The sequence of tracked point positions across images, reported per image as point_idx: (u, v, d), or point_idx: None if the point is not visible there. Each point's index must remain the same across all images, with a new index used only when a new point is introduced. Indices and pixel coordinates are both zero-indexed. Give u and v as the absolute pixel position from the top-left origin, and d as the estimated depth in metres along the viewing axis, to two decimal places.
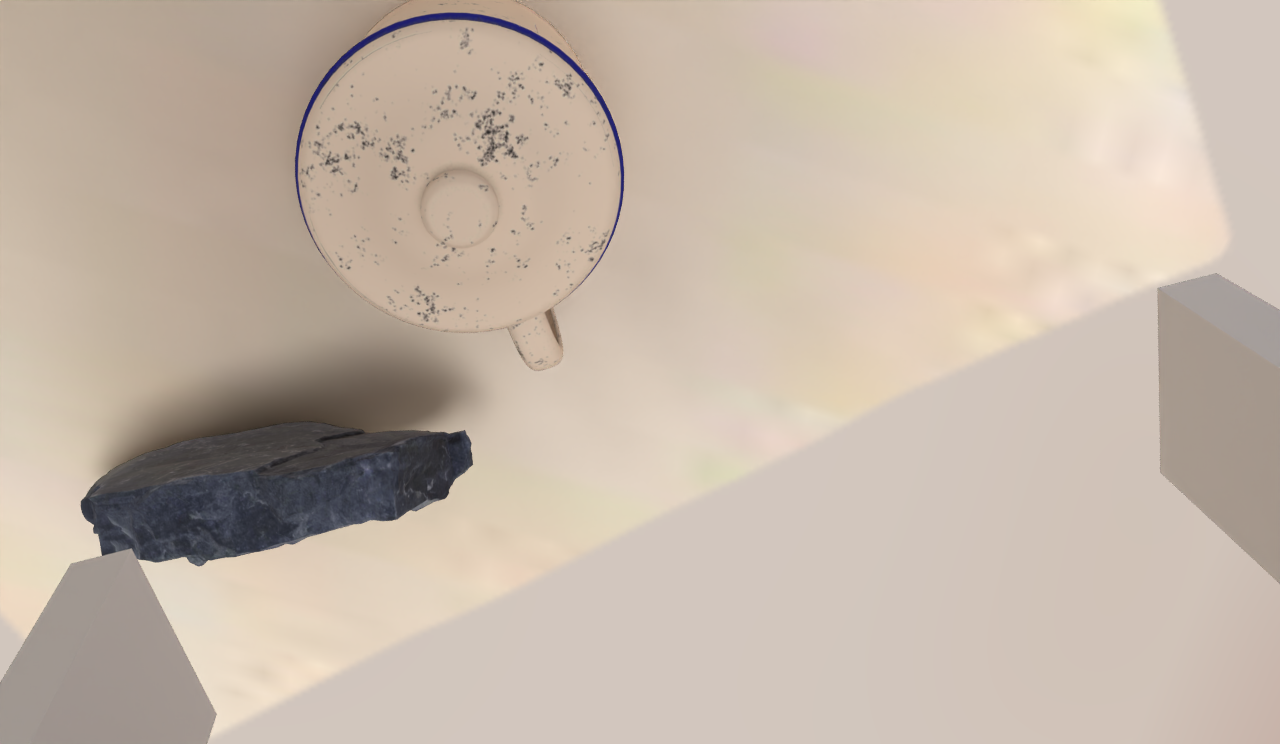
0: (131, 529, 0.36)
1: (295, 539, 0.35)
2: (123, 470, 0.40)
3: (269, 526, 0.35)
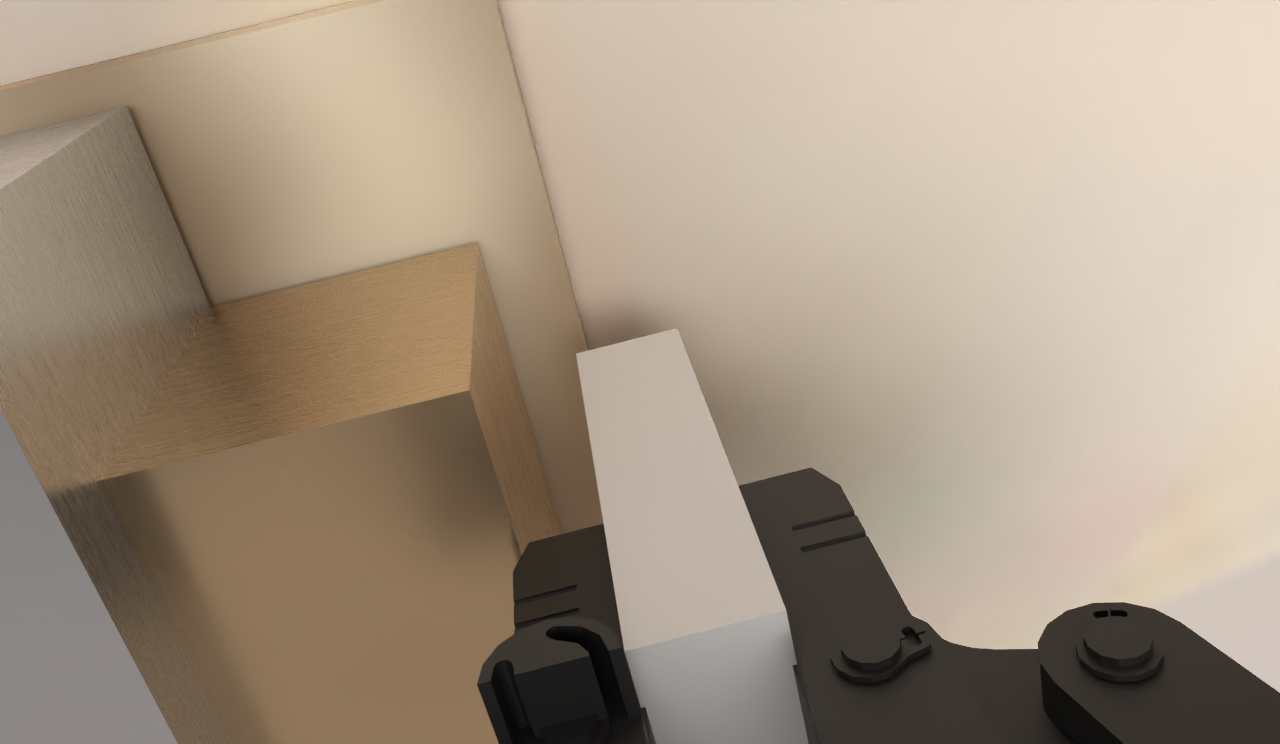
0: None
1: None
2: None
3: None
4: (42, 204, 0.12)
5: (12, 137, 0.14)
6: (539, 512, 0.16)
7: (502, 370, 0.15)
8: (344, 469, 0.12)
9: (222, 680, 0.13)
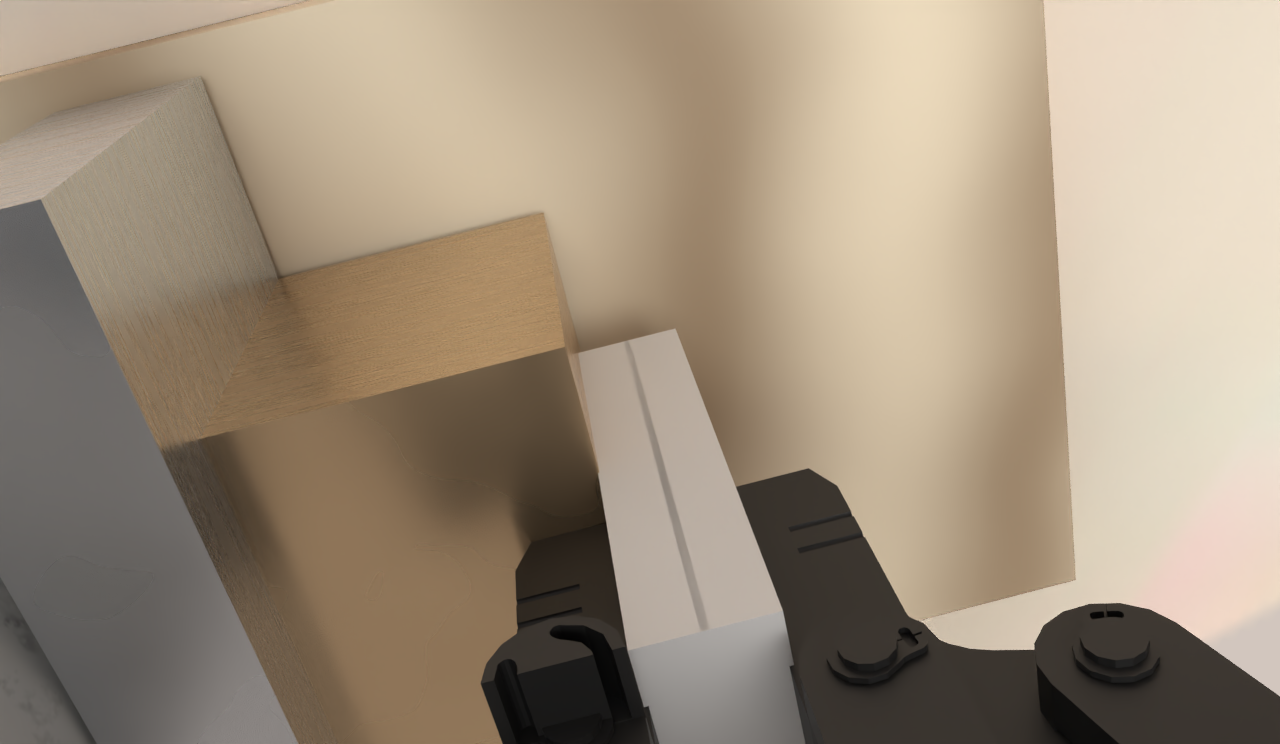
0: None
1: None
2: None
3: None
4: (139, 167, 0.12)
5: (90, 107, 0.15)
6: None
7: (573, 337, 0.16)
8: (440, 427, 0.12)
9: (313, 639, 0.13)
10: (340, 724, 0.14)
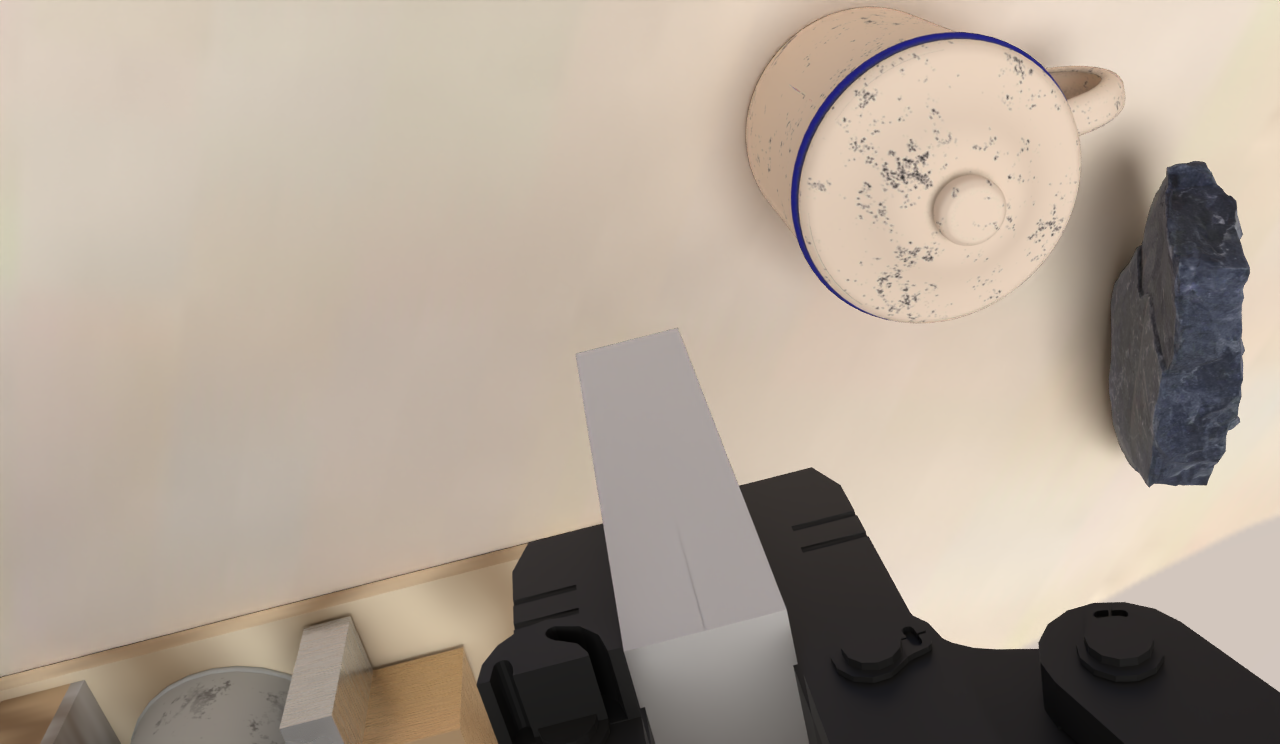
0: (1187, 463, 0.42)
1: (1240, 350, 0.37)
2: (1126, 445, 0.46)
3: (1221, 368, 0.38)
4: (343, 678, 0.44)
5: (317, 631, 0.46)
6: (483, 741, 0.48)
7: (471, 696, 0.47)
8: None
9: None
10: None
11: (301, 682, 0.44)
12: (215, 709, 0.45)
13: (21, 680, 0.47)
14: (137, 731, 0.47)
